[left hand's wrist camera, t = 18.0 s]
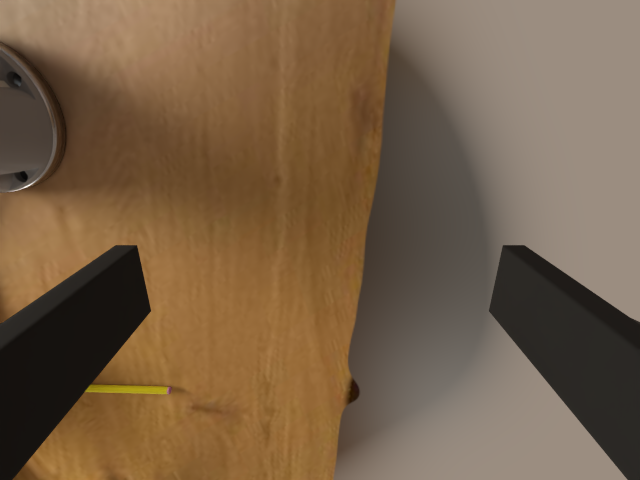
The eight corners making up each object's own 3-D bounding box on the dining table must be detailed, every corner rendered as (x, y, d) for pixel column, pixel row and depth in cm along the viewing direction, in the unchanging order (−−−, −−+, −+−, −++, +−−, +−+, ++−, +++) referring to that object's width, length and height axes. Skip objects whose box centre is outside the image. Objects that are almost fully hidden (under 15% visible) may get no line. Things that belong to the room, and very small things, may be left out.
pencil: (171, 384, 49) (168, 390, 48) (171, 390, 49) (169, 395, 48) (55, 381, 49) (50, 387, 48) (57, 387, 49) (51, 392, 48)
